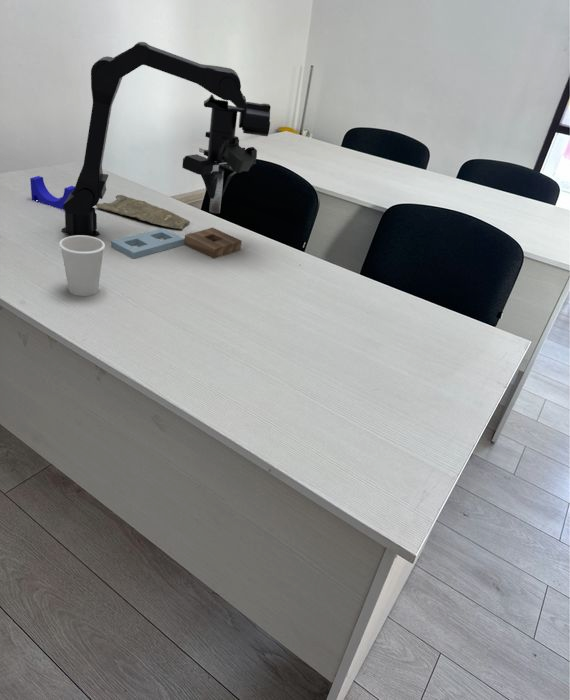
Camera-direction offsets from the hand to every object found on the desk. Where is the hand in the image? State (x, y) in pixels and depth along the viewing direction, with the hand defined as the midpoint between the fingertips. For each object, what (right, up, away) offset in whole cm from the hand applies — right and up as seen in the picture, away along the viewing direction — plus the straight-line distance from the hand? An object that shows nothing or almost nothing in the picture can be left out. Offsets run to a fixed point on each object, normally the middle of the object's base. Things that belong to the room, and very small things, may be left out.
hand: (215, 197), depth 139 cm
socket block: (-2, -11, +7) cm, 13 cm away
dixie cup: (-24, -25, -22) cm, 41 cm away
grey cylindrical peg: (0, -3, +2) cm, 4 cm away
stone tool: (-21, -1, +18) cm, 28 cm away
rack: (-16, -11, +1) cm, 20 cm away
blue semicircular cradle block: (-44, +2, +15) cm, 47 cm away
